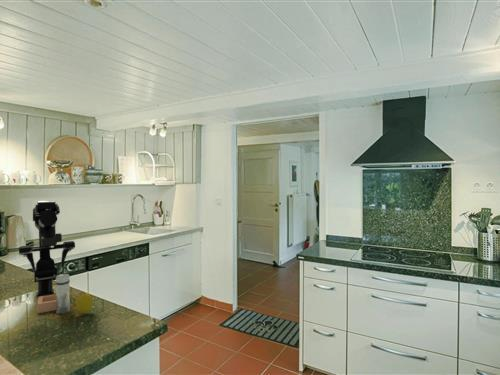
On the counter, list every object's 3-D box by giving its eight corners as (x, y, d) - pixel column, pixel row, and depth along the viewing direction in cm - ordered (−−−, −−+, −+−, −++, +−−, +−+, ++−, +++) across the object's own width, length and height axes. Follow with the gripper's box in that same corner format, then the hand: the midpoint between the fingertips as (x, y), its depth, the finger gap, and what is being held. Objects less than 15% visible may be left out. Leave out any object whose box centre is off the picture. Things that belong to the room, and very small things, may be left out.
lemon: (72, 315, 115) (72, 294, 115) (86, 310, 120) (86, 289, 120) (82, 318, 112) (81, 296, 112) (95, 312, 117) (95, 292, 117)
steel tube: (56, 310, 120) (55, 275, 120) (70, 308, 122) (69, 273, 122) (55, 315, 116) (55, 278, 116) (70, 312, 118) (69, 276, 118)
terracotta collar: (38, 305, 125) (38, 296, 125) (65, 300, 130) (65, 292, 130) (37, 313, 117) (37, 304, 117) (65, 308, 122) (65, 299, 122)
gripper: (18, 229, 113) (19, 272, 110) (75, 225, 125) (78, 263, 121) (18, 234, 122) (19, 274, 118) (72, 230, 133) (74, 266, 130)
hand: (48, 269), depth 122 cm, fingers open, 9 cm apart
